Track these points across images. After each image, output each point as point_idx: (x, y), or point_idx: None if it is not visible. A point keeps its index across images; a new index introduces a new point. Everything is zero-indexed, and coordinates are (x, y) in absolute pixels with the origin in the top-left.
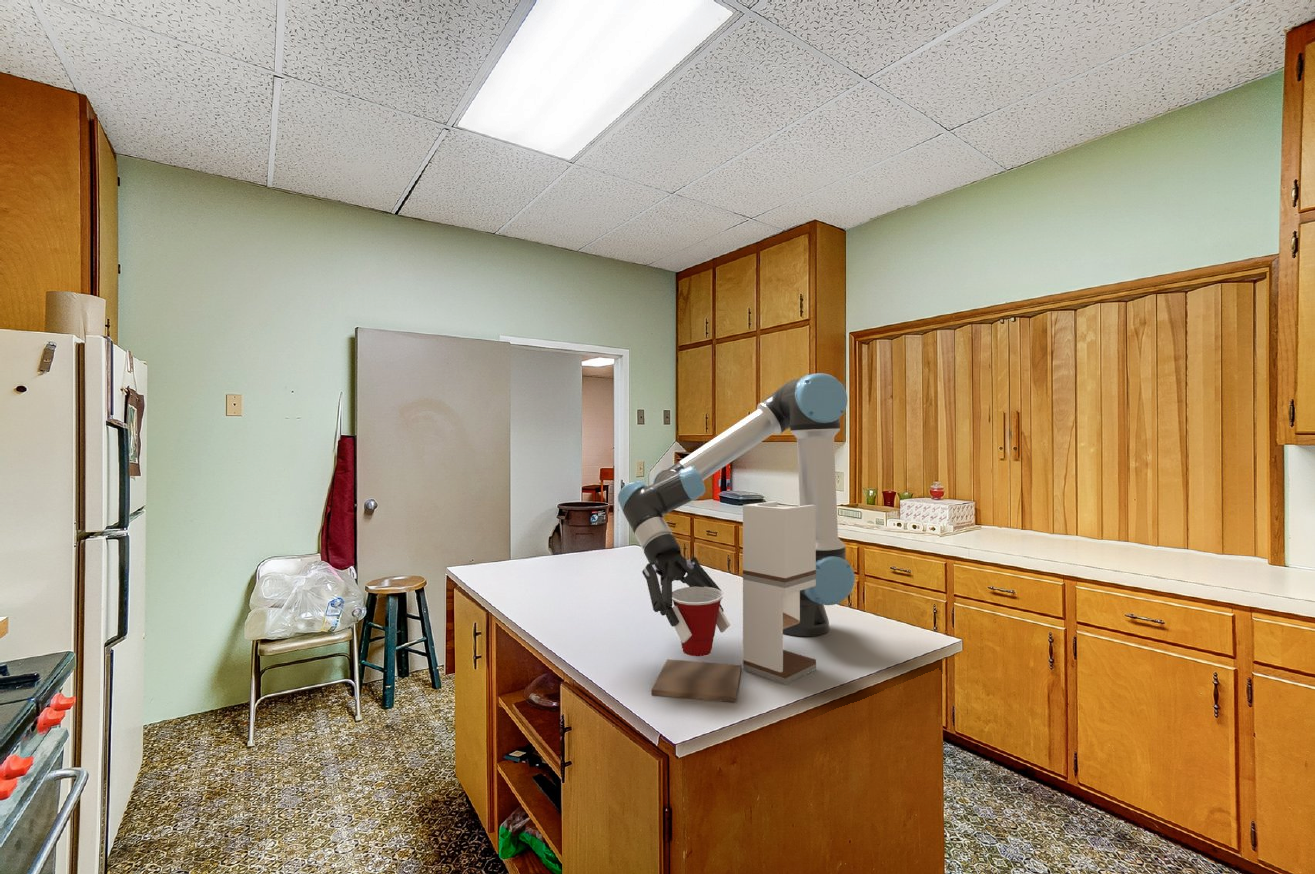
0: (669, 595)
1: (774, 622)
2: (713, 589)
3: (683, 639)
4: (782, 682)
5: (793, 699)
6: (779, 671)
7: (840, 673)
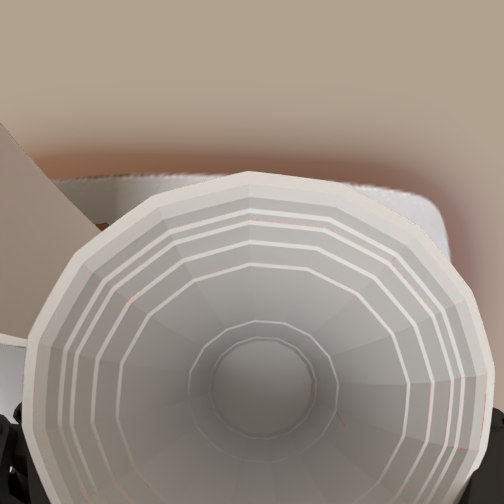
0: (491, 483)
1: (35, 191)
2: (39, 418)
3: None
4: None
5: (166, 180)
6: None
7: None
